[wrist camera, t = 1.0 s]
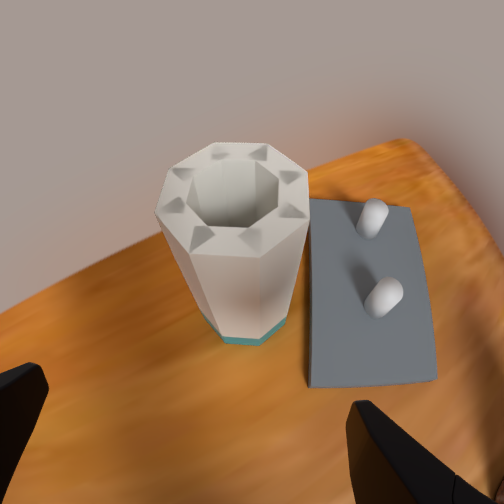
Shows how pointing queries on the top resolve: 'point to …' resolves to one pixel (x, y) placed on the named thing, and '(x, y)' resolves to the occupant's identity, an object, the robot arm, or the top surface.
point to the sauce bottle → (500, 494)
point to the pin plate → (343, 300)
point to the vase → (237, 234)
